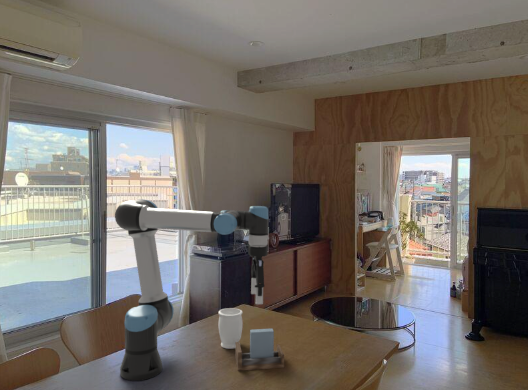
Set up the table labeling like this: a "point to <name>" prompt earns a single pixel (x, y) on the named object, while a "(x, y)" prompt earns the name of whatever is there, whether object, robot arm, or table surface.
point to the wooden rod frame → (258, 360)
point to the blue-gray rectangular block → (261, 343)
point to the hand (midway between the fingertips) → (256, 298)
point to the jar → (230, 327)
